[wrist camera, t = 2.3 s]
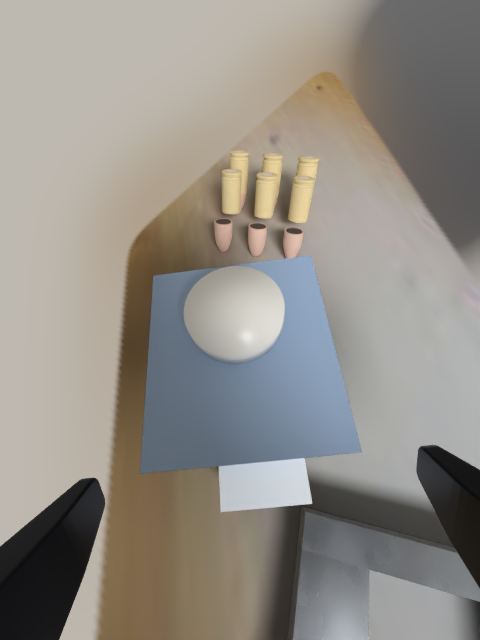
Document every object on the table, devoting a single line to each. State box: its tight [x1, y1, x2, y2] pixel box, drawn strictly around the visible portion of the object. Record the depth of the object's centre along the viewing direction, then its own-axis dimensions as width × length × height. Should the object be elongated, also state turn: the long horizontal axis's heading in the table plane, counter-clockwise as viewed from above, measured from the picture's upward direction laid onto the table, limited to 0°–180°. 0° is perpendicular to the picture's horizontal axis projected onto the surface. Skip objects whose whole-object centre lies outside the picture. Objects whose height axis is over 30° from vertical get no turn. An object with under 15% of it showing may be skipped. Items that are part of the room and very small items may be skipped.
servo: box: [140, 255, 362, 512], centre depth 12 cm, size 10×4×13 cm, turn 5°
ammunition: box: [214, 150, 319, 258], centre depth 23 cm, size 5×7×8 cm
